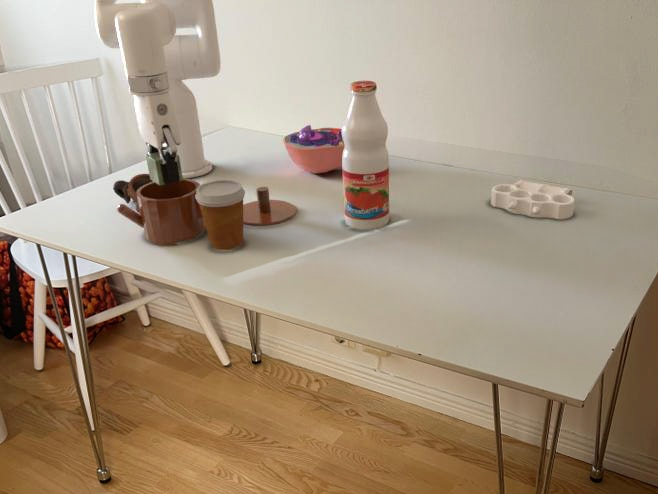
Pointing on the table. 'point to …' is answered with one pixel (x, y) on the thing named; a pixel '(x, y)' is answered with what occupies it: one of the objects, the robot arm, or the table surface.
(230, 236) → the disposable coffee cup
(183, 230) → the brown hollow round container
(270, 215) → the lid
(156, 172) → the tea block
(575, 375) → the table surface
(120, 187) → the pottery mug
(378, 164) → the fruit juice
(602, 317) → the table surface
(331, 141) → the cell model
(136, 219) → the teapot spout handle
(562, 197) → the knuckle duster
